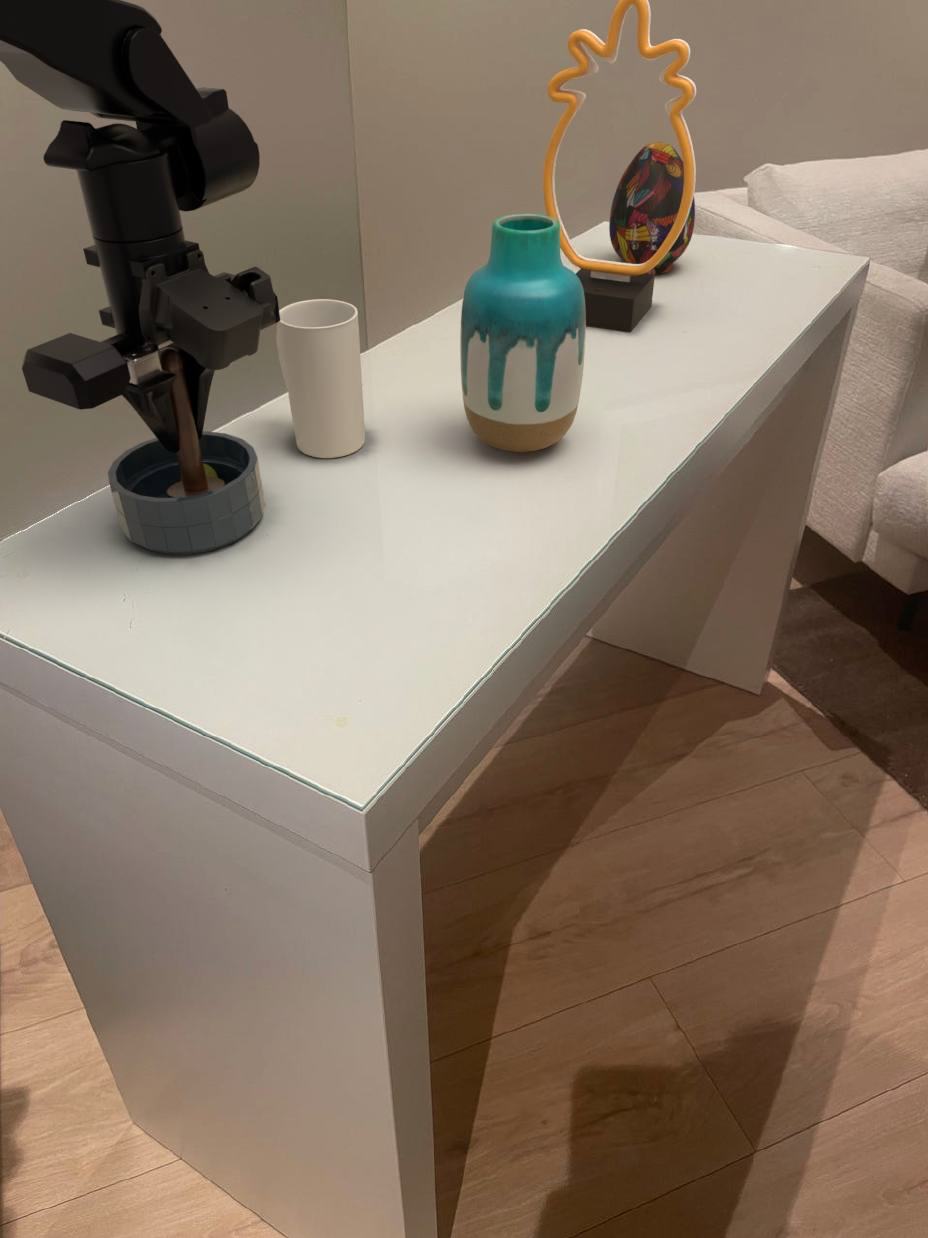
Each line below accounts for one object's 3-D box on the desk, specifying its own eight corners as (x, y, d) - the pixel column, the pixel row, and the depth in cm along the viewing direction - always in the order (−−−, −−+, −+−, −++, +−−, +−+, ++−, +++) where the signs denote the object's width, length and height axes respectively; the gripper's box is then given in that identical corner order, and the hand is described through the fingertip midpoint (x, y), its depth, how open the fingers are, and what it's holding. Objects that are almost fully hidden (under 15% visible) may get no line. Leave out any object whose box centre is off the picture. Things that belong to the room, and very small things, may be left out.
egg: (705, 269, 124) (723, 143, 115) (647, 286, 119) (661, 156, 110) (646, 249, 131) (659, 129, 121) (589, 265, 126) (597, 140, 116)
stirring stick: (159, 504, 74) (122, 350, 68) (207, 486, 76) (177, 337, 70) (189, 517, 71) (154, 358, 65) (238, 499, 73) (209, 344, 68)
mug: (383, 443, 87) (374, 313, 79) (323, 468, 83) (307, 334, 76) (318, 408, 92) (304, 284, 85) (259, 430, 89) (239, 302, 82)
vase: (460, 416, 91) (457, 204, 79) (571, 414, 91) (585, 202, 79) (462, 471, 82) (460, 243, 71) (584, 469, 82) (602, 241, 71)
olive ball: (176, 499, 78) (169, 468, 76) (202, 482, 80) (196, 451, 78) (202, 511, 77) (196, 480, 75) (228, 494, 79) (223, 463, 77)
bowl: (93, 530, 75) (76, 475, 72) (197, 472, 83) (186, 419, 80) (193, 574, 70) (180, 517, 67) (294, 508, 78) (286, 453, 75)
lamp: (525, 316, 111) (534, -7, 92) (550, 292, 118) (564, -15, 98) (665, 337, 106) (707, -2, 86) (684, 310, 112) (727, -10, 93)
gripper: (106, 294, 52) (164, 533, 62) (325, 213, 65) (345, 423, 74) (-18, 261, 57) (54, 487, 67) (207, 191, 69) (241, 390, 79)
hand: (183, 445), depth 72 cm, fingers closed on stirring stick, 2 cm apart
